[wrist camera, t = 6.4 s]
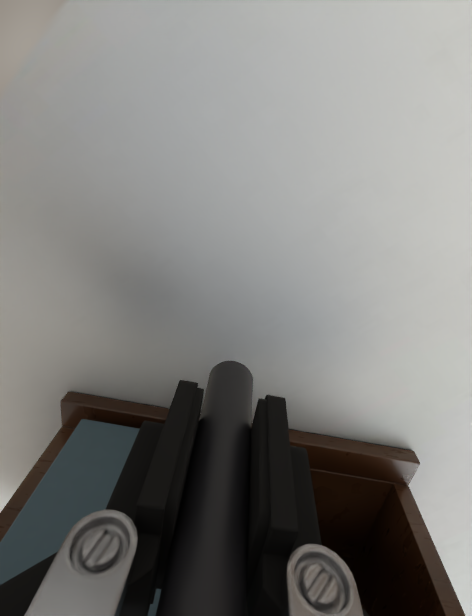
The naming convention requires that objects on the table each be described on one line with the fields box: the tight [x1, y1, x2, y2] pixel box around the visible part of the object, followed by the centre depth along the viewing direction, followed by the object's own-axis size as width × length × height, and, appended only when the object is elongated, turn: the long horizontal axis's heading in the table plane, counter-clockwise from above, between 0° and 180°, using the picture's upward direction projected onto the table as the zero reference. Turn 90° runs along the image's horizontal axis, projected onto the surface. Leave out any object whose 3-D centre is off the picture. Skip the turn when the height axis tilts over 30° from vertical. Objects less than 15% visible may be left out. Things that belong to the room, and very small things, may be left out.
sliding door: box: [0, 361, 253, 616], centre depth 10 cm, size 7×9×11 cm
